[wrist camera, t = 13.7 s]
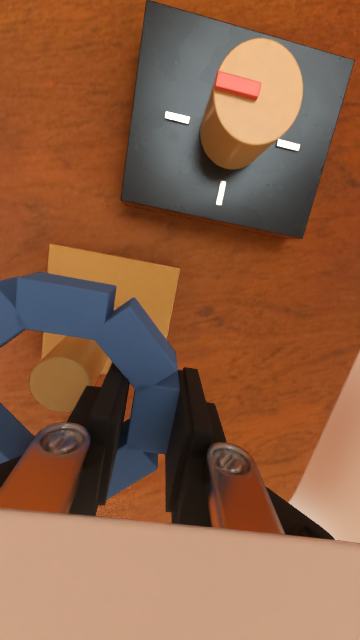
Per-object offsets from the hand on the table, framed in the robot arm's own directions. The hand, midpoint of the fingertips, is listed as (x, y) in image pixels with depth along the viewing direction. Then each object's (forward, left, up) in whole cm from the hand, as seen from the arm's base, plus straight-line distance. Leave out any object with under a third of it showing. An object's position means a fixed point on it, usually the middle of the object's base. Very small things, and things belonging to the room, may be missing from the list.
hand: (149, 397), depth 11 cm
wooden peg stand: (+4, 0, -11) cm, 12 cm away
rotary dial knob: (-2, -13, -9) cm, 16 cm away
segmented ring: (+3, 0, 0) cm, 3 cm away
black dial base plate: (-2, -13, -11) cm, 17 cm away
